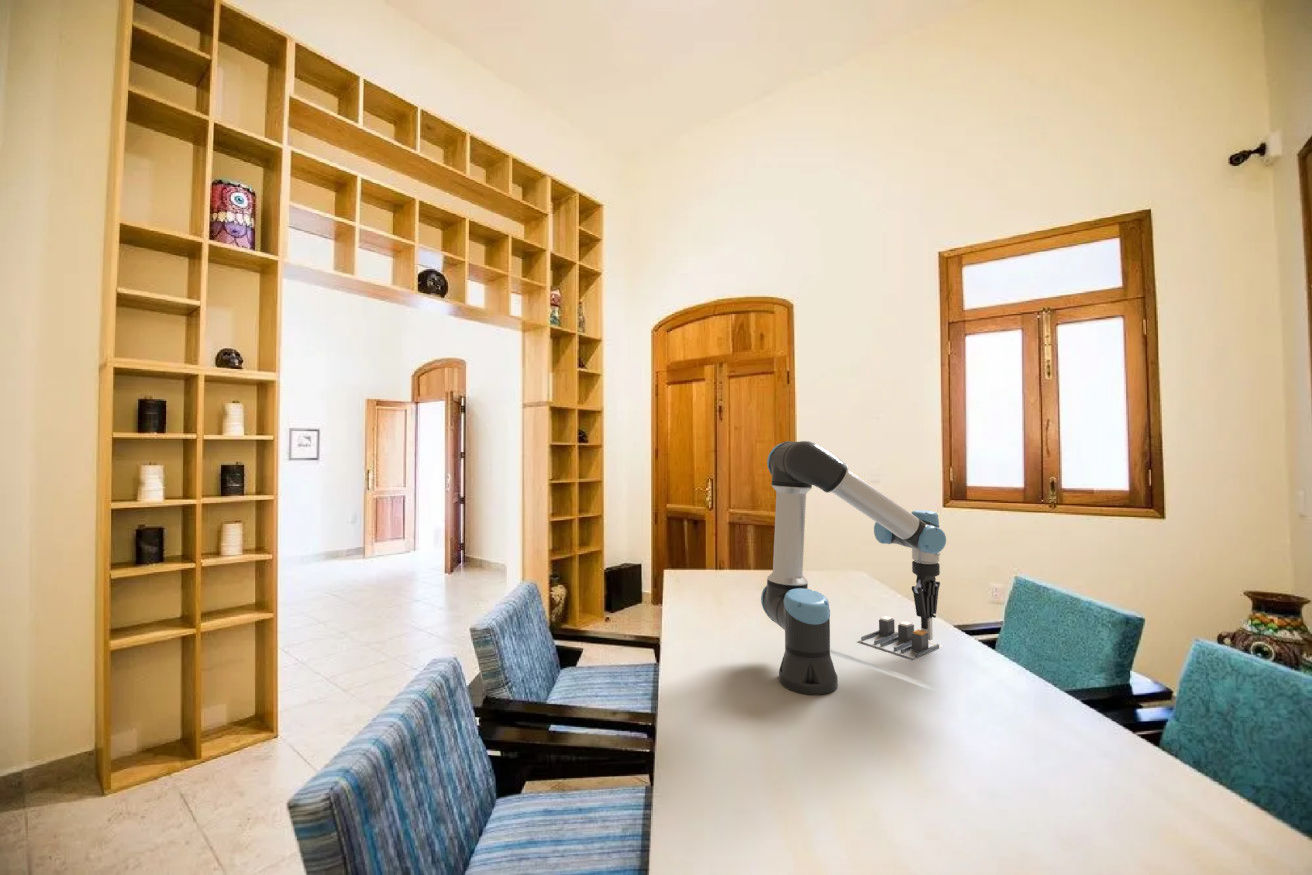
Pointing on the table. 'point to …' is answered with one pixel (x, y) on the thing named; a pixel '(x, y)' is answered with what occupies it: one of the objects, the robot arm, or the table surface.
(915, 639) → the block
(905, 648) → the panel
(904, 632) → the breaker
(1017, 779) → the table surface
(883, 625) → the breaker
